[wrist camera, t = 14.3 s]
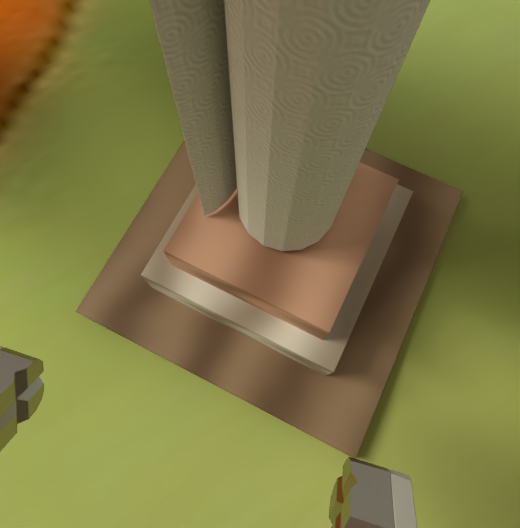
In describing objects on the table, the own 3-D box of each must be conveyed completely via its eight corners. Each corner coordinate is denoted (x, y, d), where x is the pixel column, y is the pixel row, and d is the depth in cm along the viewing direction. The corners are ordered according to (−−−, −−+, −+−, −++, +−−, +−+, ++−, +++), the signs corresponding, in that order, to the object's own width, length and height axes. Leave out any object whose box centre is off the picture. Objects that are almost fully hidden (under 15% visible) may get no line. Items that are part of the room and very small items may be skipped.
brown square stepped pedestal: (80, 314, 34) (34, 289, 26) (220, 93, 40) (213, 24, 33) (352, 457, 31) (382, 472, 24) (457, 196, 37) (506, 146, 30)
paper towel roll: (350, 191, 29) (591, -336, 8) (307, 271, 27) (474, -140, 7) (251, 142, 30) (248, -438, 9) (203, 217, 28) (73, -288, 8)
